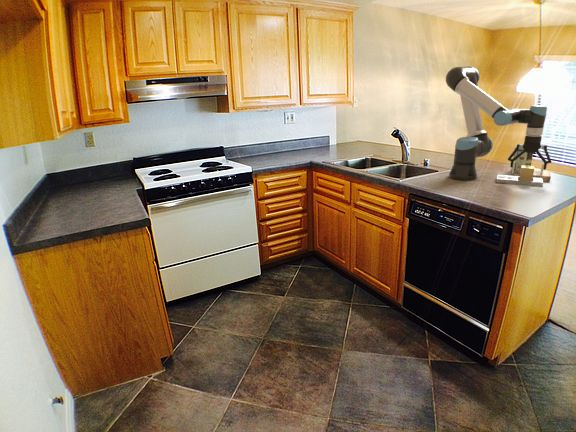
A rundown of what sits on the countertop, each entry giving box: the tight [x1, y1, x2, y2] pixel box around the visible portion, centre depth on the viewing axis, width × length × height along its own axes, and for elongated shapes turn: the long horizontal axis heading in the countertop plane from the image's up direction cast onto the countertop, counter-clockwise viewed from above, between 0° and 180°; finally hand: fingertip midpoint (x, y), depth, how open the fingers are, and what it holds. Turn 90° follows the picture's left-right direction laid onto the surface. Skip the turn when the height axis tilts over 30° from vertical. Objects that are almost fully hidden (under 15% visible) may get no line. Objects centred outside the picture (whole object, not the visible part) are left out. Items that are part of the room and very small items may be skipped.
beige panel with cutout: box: [495, 174, 544, 187], centre depth 210 cm, size 22×11×2 cm, turn 60°
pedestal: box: [533, 170, 552, 182], centre depth 216 cm, size 12×12×3 cm
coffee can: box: [510, 147, 534, 174], centre depth 231 cm, size 10×10×14 cm
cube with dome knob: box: [518, 165, 535, 181], centre depth 207 cm, size 6×6×9 cm
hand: (526, 174), depth 207 cm, fingers open, 13 cm apart
